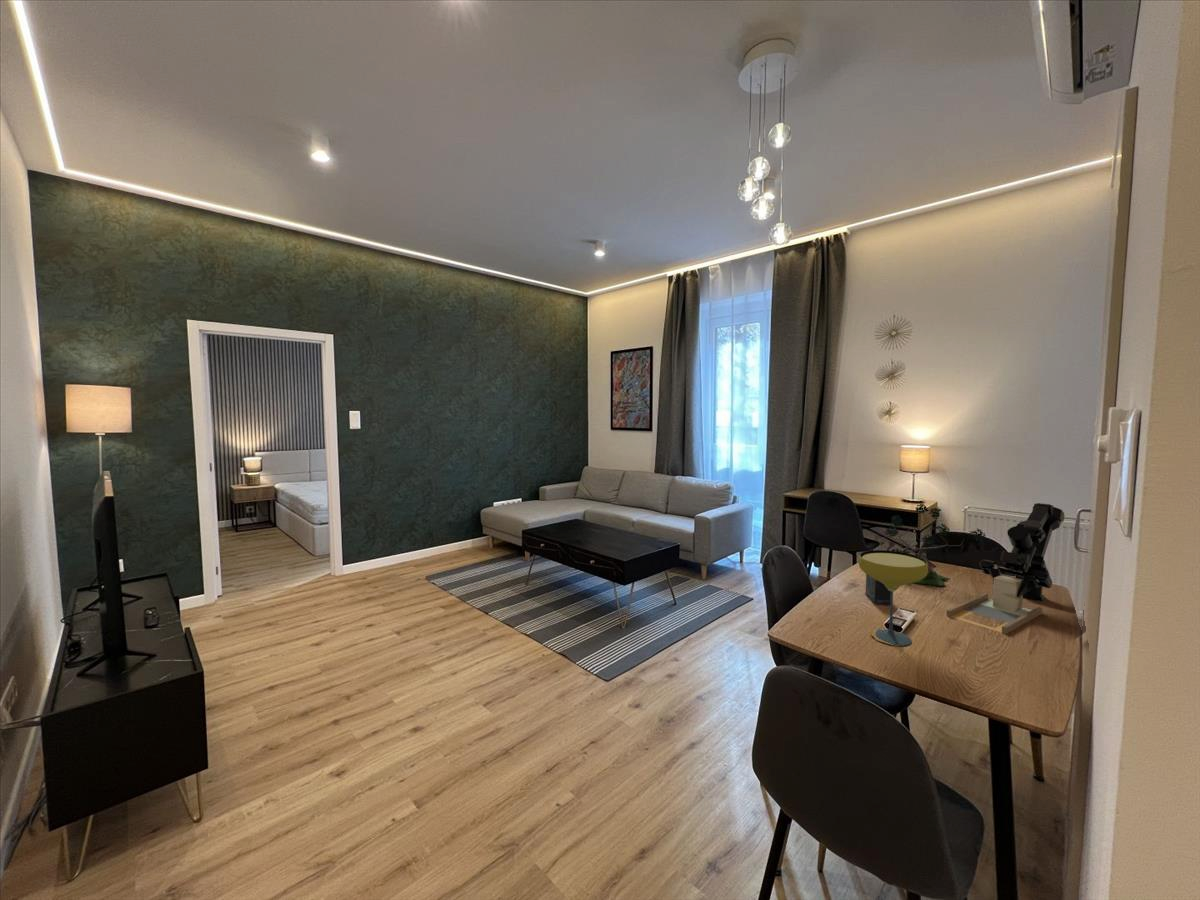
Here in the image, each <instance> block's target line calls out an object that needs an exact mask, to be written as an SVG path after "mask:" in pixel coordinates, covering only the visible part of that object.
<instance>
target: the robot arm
mask: <svg viewBox="0 0 1200 900" xmlns="http://www.w3.org/2000/svg"><path fill="white" fill-rule="evenodd" d="M1064 521H1065V512H1064V510H1062V509H1061V508H1058V507H1055V506H1054V505H1052V504H1050V503H1040V502H1037V503H1034V504H1033V506H1032V511H1031V512H1030V514H1029V516H1028V517H1027V519H1026V520H1023V521H1020V522H1019V523H1017V524H1016V525H1014V526H1012V527H1010V528H1009V529H1008V530H1007V536H1008V539H1009V542H1010V545H1011V546H1012V550H1011V551H1001V556H1000V559H999V561H1001V562H1002V565H1003V566H999V565H997V563H996V561H993V560H989V559H982V560H980V561H979V564H978V566H979V568H980V569H981V571H982V573H983V574H985V575H989V576H990V577H991V578H992V583H994V578H995V577H997V576H1000V575H1002V574H1006V575H1009V576H1013V577H1015V578H1019V579H1023V582H1022V584H1021V586H1020V588H1019V590H1018V593H1017V597H1018V598H1019V597H1021V596H1022V595H1023V598H1024V599H1028V600H1033V601H1038V602H1039V601H1040V602H1043V601H1044V598H1045V595H1044V594H1043V588H1046V589H1051V588H1052V585H1053V580H1052V578H1051V576H1050V571H1049V569H1048V567H1047V565H1046V561H1045V559H1044V558H1045V555H1046V552H1047V548H1048V545H1049V542H1050V538H1051V536H1052V533H1053V531H1055V530H1057V529H1058V528H1060V526H1061V524H1062V523H1064Z"/></svg>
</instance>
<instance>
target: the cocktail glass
mask: <svg viewBox="0 0 1200 900" xmlns="http://www.w3.org/2000/svg"><path fill="white" fill-rule="evenodd" d="M921 557H922V556H918V555H916V554H913V553H903V552H897V551H896V550H895V551H891V550H889V551H887V549H886V550H883V549H882V550H881V549H877V550H876V549H874V550H873V549H872V550H866V551H865V550H864V551H862V552H860V554H859V556H858V565H859V568H860V570H861V571H862V572H863V573H865V575H866V574H867V575H869V576H870V577H872V578H874V579H876V580H878V581H880V582H881V583H883V584H884V585H885V586H886V588H887V589H888V590H889V591H891V595H890V605H889V626H888V629H885V630H879V629H877V630H878V631H876V636H877V637H878V638H879V639H881V640H883V641H885V642H888V643H891V644H893V645H899V646H898V647H906V646H905V645H907V646H910V645H911V644H912V641H913V640H912V638H910V637H909V635H906V634H904V633H902V632H900V633H899V631H897V632H895V631H896V630H894V625H893V622H894V621H893V619H894V618H893V617H894V616H893V610H894V608H893V605H894V592H896V591H897V590H898V589H899V588H900V587H902V586H905V585H910V584H915V583H914V582H917V581H920V580H921V579H923V578H925V577H926V575H927V573H928V563H927V561H926V560H925V559H923V558H921ZM909 644H910V645H909Z"/></svg>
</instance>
